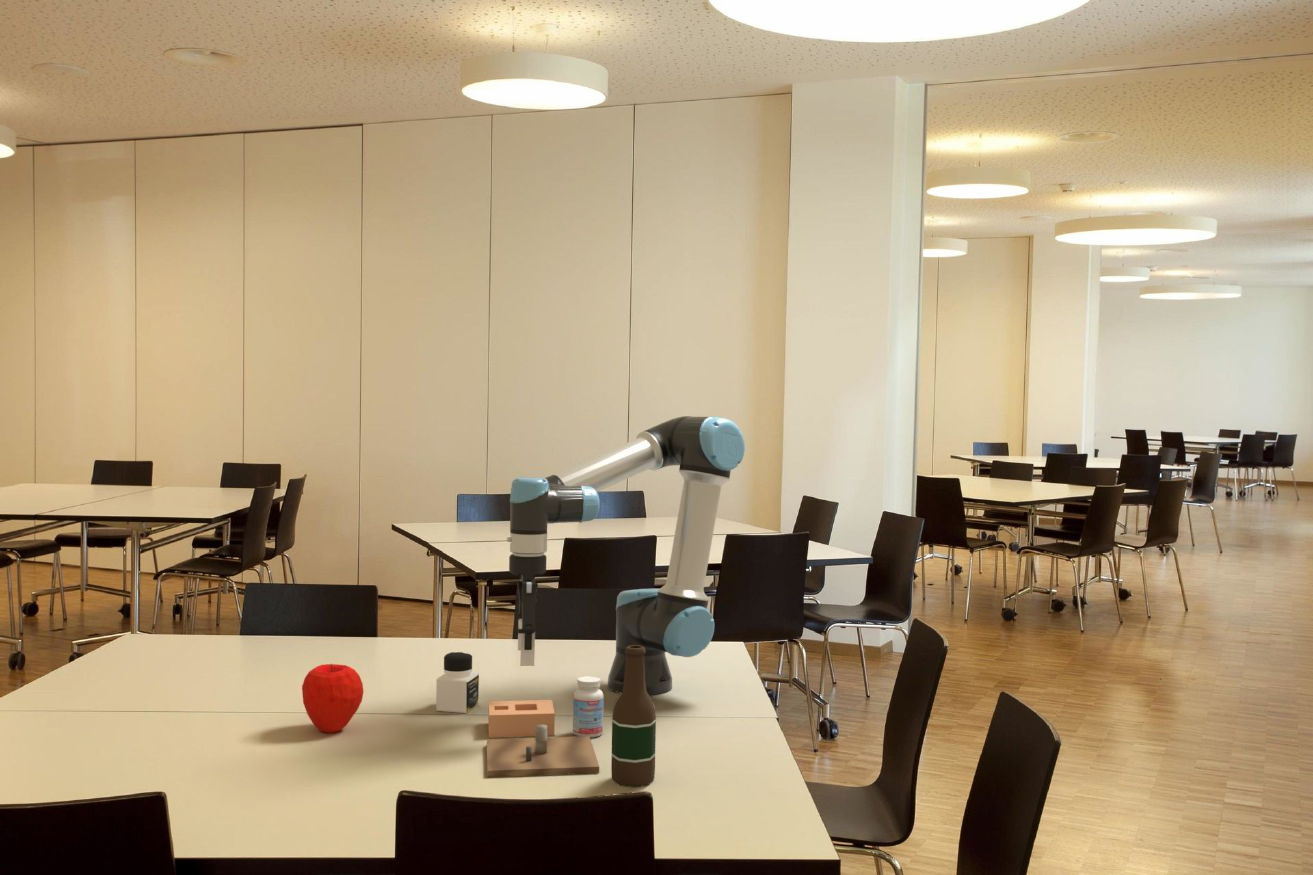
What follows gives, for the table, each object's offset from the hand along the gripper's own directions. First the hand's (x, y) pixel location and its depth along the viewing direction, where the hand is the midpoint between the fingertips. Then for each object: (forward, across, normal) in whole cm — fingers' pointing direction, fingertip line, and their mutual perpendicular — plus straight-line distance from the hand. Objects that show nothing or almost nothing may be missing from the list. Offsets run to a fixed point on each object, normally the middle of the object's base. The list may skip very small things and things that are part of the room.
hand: (525, 657), depth 225 cm
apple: (+15, -4, -38) cm, 41 cm away
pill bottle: (+15, +4, +13) cm, 20 cm away
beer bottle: (+15, +32, +18) cm, 40 cm away
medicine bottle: (+15, -17, -14) cm, 26 cm away
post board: (+15, +19, +2) cm, 24 cm away
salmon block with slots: (+15, 0, 0) cm, 15 cm away
